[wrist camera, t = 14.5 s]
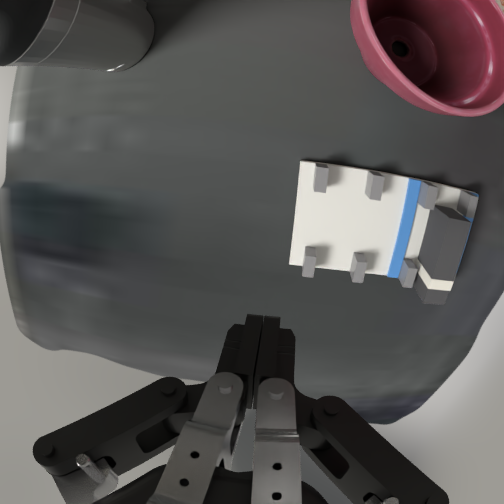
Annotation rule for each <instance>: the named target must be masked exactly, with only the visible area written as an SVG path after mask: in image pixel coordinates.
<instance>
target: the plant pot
mask: <svg viewBox="0 0 504 504" xmlns="http://www.w3.org/2000/svg"><path fill="white" fill-rule="evenodd" d="M350 19H351V25H352V30H353V34H354V37H355V40H356V42H357V45H358V47H359V49H360V51H361V55H362V58H363V61H364V63H365V65H366V66H367V68H368V69H369V71H370V72H371V73H372V74H373V75H374V76H375V77H376V78H377V79H378V80H379V81H381V82H382V83H383V84H385V85H387V86H388V87H389V88H390V89H391V90H392V91H394V92H395V93H396V94H397V95H399V96H400V97H402V98H403V99H404V100H406V101H408V102H409V103H411V104H413V105H415V106H417V107H419V108H421V109H424V110H427V111H430V112H433V113H437V114H443V115H451V116H465V117H475V116H481V115H484V114H487V113H490V112H492V111H494V110H495V109H497V108H498V107H500V106H501V105H502V104H503V103H504V13H503V12H502V10H501V8H500V7H499V5H498V4H497V2H496V1H495V0H352V1H351V7H350ZM394 42H401V43H403V44H404V45H405V46H406V49H407V54H406V55H405V56H403V57H400V56H397V55H396V54H395V53H394V52H393V50H392V44H393V43H394Z"/></svg>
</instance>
